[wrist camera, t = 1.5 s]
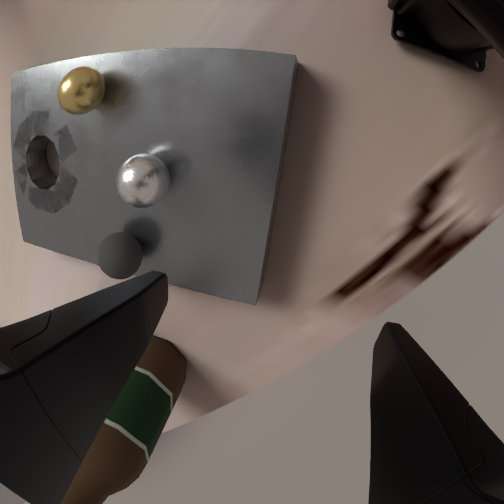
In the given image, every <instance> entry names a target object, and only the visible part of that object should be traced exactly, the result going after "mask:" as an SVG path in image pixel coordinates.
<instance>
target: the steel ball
mask: <svg viewBox="0 0 504 504" xmlns="http://www.w3.org/2000/svg"><path fill="white" fill-rule="evenodd" d="M169 183H170V177H169V172H168V169H167V167H166V165H165V164H164V163H163V162H162V161H161V160H160V159H159V158H157V157H156V156H153V155H150V154H138V155H134V156H132V157H130V158H129V159H127V160H126V161H125V162H124V163H123V164H122V166H121V167H120V169H119V171H118V174H117V179H116V186H117V190H118V193H119V195H120V196H121V198H122V199H123V200H124V201H125V202H126V203H127V204H129V205H131V206H133V207H137V208H147V207H151V206H153V205H155V204H157V203H158V202H160V201H161V200H162V199H163V197H164V196H165V195H166V193H167V191H168V188H169Z"/></svg>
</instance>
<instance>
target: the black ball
mask: <svg viewBox="0 0 504 504" xmlns="http://www.w3.org/2000/svg"><path fill="white" fill-rule="evenodd" d="M97 259H98V263H99V266H100V268H101V269H102V271H103V272H104V273H105V274H106V275H108V276H109V277H111V278H114V279H126V278H128V277H130V276H132V275H133V274H135V273H136V272H137V270H138V269H139V267H140V265H141V262H142V249H141V246H140V244H139V243H138V241H137V240H136V239H135V238H134V237H133V236H131V235H130V234H127V233H124V232H116V233H112V234H110V235H108V236H107V237H106V238H104V239H103V241H102V242H101V244H100V246H99V248H98V253H97Z"/></svg>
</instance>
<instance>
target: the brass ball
mask: <svg viewBox="0 0 504 504" xmlns="http://www.w3.org/2000/svg"><path fill="white" fill-rule="evenodd" d="M105 89H106V84H105V80H104V77H103V76H102V74H101V73H100V72H99V71H98V70H97V69H95V68H93V67H89V66H81V67H77V68H75V69H72V70H71V71H69V72H68V73H67V74H66V75H65V76H64V77H63V78H62V80H61V82H60V84H59V86H58V91H57V97H58V101H59V104H60V106H61V107H62V108H63V109H64V110H65V111H66V112H68V113H70V114H74V115H82V114H86V113H88V112H90V111H92V110H94V109H95V108H96V107H97V106H98V105H99V104H100V102H101V101H102V99H103V97H104V94H105Z"/></svg>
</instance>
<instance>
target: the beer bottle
mask: <svg viewBox="0 0 504 504" xmlns="http://www.w3.org/2000/svg"><path fill="white" fill-rule="evenodd" d="M185 377H186V359H185V358H184V357H183V356H182V355H181V354H180V353H179V352H178V351H177V350H176V349H175V348H174V346H173V345H172V344H171V343H170V342H169V341H167V340H165V339H162V338H159V337H156V336H152V338H151V341H150V343H149V345H148V347H147V349H146V350H145V352H144V354H143V356H142V357H141V359H140V361H139V362H138V364H137V366H136V367H135V369H134V371H133V373H132V374H131V376H130V378H129V379H128V381H127V383H126V385H125V386H124V388H123V390H122V392H121V393H120V395H119V397H118V399H117V400H116V402H115V404H114V406H113V407H112V409H111V411H110V413H109V415H108V416H107V418H106V420H105V422H104V423H103V425H102V427H101V429H100V431H99V433H98V434H97V436H96V438H95V440H94V442H93V444H92V445H91V447H90V449H89V451H88V453H87V455H86V457H85V458H84V460H83V461H82V464H81V466H80V468H79V470H78V472H77V474H76V476H75V478H74V480H73V482H72V484H71V486H70V487H69V489H68V491H67V493H66V495H65V497H64V499H63V501H62V503H61V504H102V503H103V502H104V501H105V500H106V498H107V497H108V496H109V495H112V494H114V493H116V492H118V491H121V490H123V489H125V488H127V487H128V486H129V485H130V484H132V483H133V482H134V481H135V480H136V479H137V478H139V476H140V474H141V473H142V471H143V469H144V468H145V466H146V464H147V462H148V460H149V458H150V456H151V454H152V452H153V450H154V447H155V445H156V443H157V441H158V439H159V437H160V435H161V433H162V430H163V428H164V426H165V424H166V422H167V420H168V418H169V416H170V413H171V411H172V409H173V407H174V405H175V403H176V401H177V399H178V396H179V394H180V392H181V390H182V387H183V384H184V382H185Z"/></svg>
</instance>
